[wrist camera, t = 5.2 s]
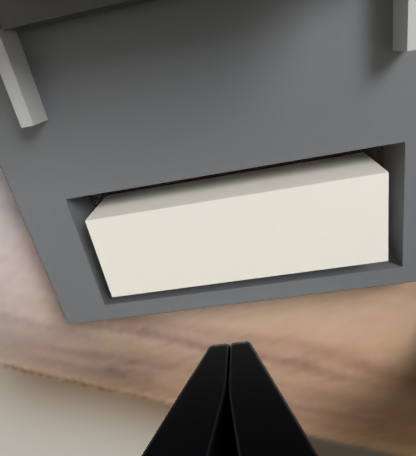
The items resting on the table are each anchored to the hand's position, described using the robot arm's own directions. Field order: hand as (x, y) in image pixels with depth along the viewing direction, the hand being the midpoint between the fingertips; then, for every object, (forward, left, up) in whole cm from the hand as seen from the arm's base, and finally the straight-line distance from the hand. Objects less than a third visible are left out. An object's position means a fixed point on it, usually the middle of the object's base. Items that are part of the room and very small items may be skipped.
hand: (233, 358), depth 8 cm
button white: (0, 0, -8) cm, 8 cm away
